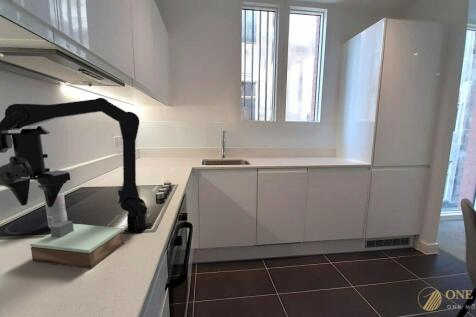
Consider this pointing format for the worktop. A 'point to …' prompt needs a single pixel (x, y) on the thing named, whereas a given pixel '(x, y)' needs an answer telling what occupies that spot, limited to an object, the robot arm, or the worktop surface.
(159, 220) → the worktop surface
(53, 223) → the energy drink
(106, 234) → the lid
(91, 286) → the worktop surface
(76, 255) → the tea box
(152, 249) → the worktop surface
